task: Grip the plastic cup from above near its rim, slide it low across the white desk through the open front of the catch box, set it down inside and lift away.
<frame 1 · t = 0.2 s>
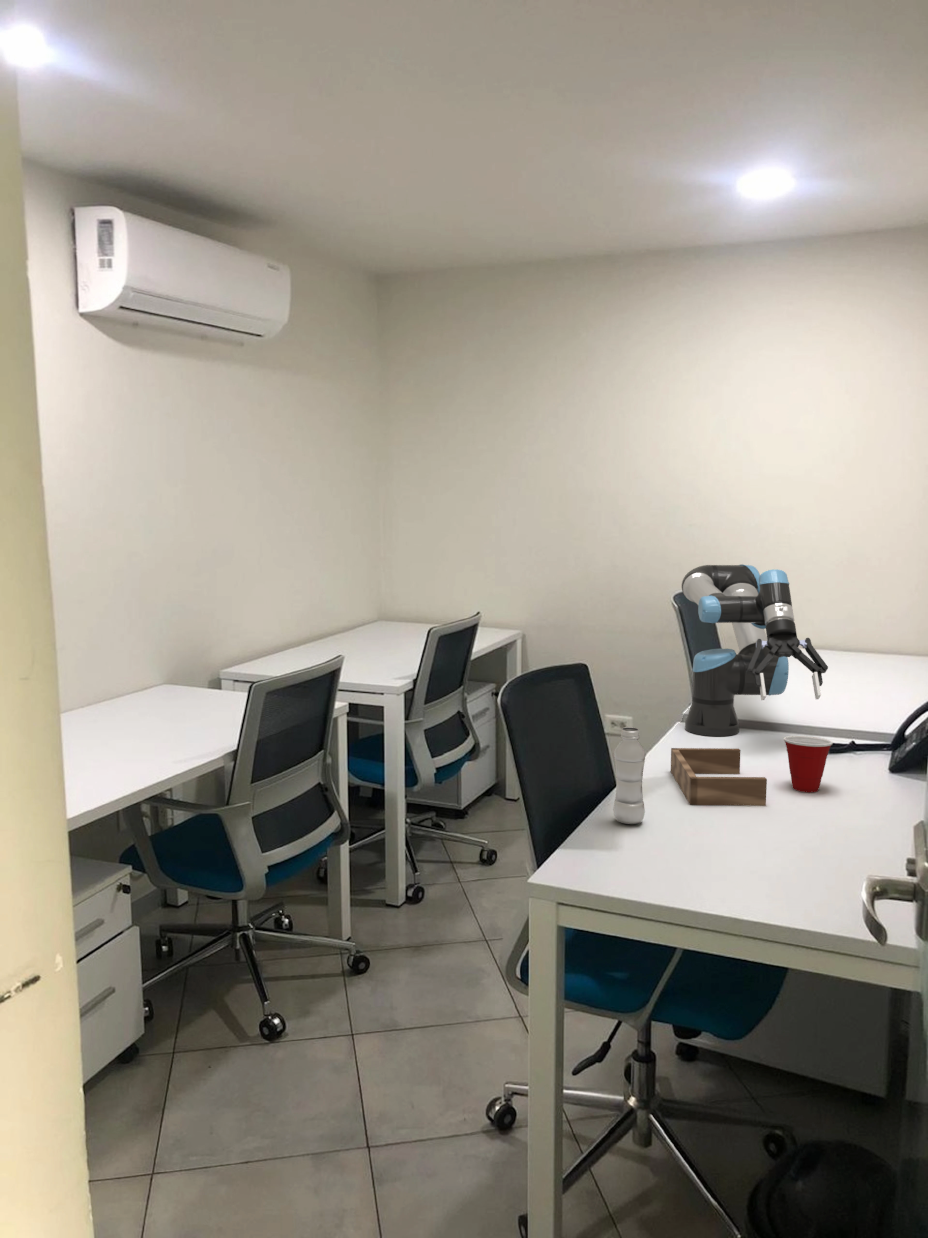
hand: (791, 698, 243), 16 cm above the table, tool tilted 35°, fingers open, 13 cm apart
plastic bottle: (628, 823, 199), on the table
catch box: (718, 787, 222), on the table
plastic cup: (805, 789, 221), on the table
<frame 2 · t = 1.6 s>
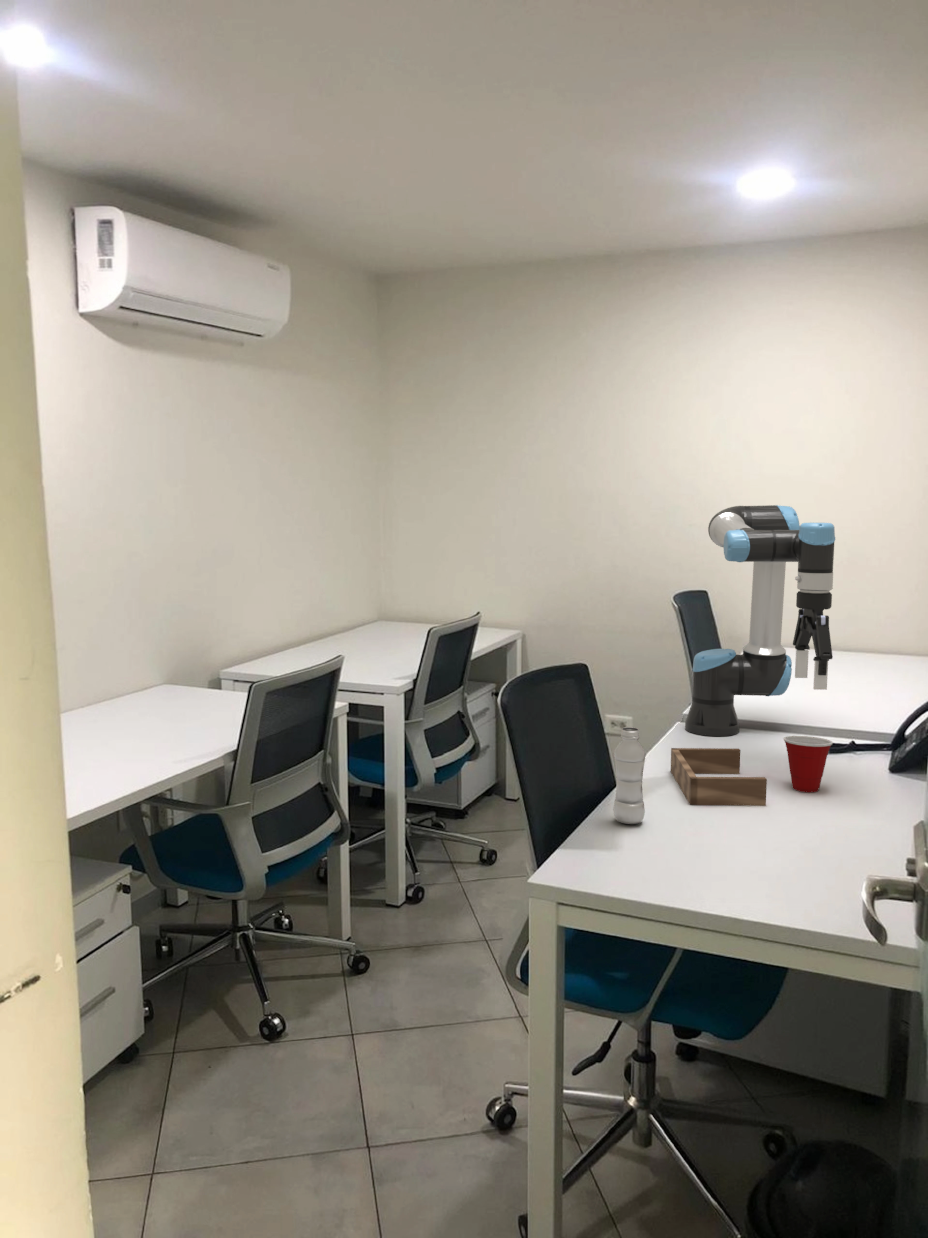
hand: (810, 683, 218), 25 cm above the table, tool pointing down, fingers open, 13 cm apart
nothing on the table moved.
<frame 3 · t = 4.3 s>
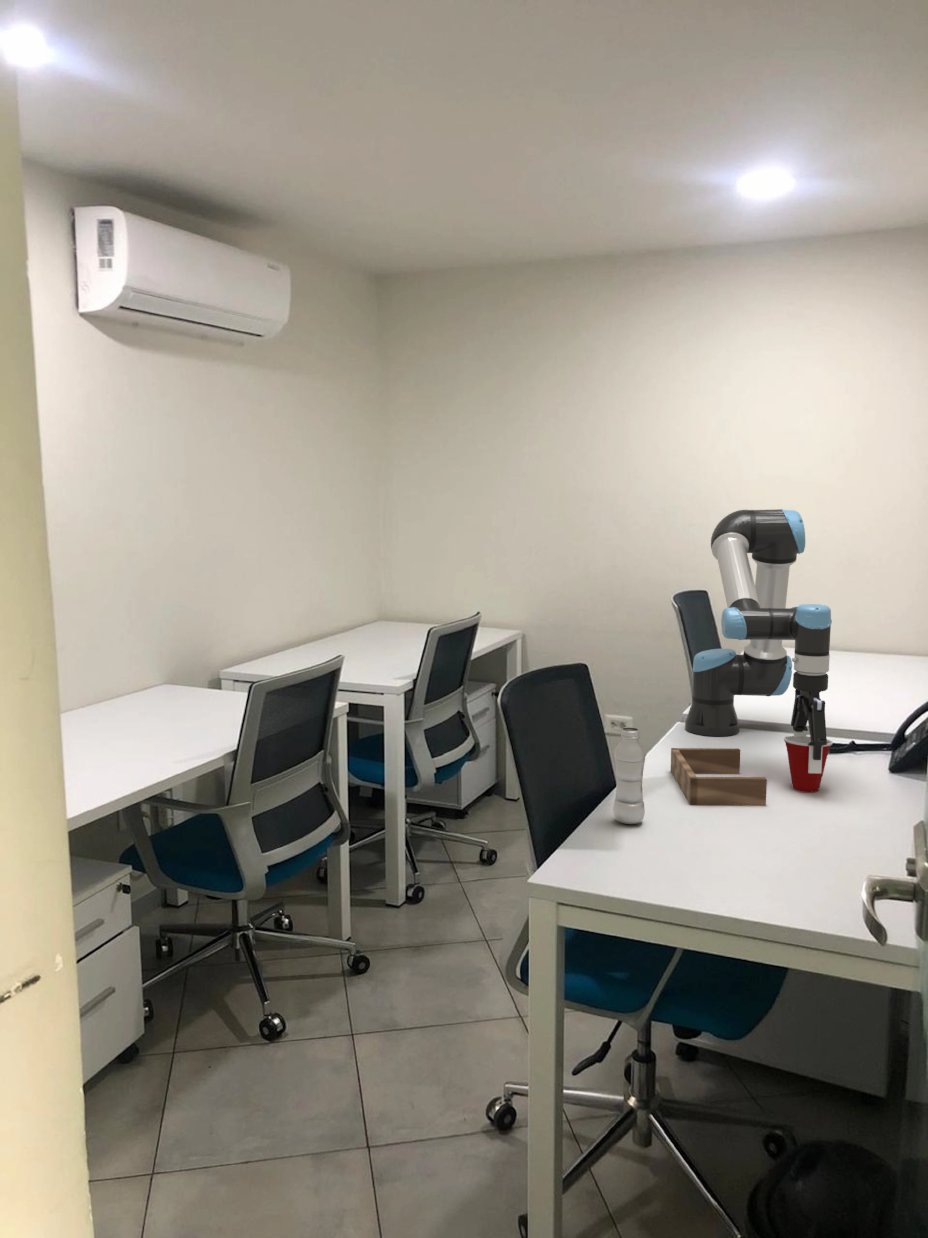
hand: (806, 765, 220), 5 cm above the table, tool pointing down, fingers closed on plastic cup, 11 cm apart
plastic cup: (805, 789, 221), on the table, touching gripper
everything else where it was.
when the fingers open (6 cm above the table, at t = 10.2 s): plastic cup stays where it is, on the table.
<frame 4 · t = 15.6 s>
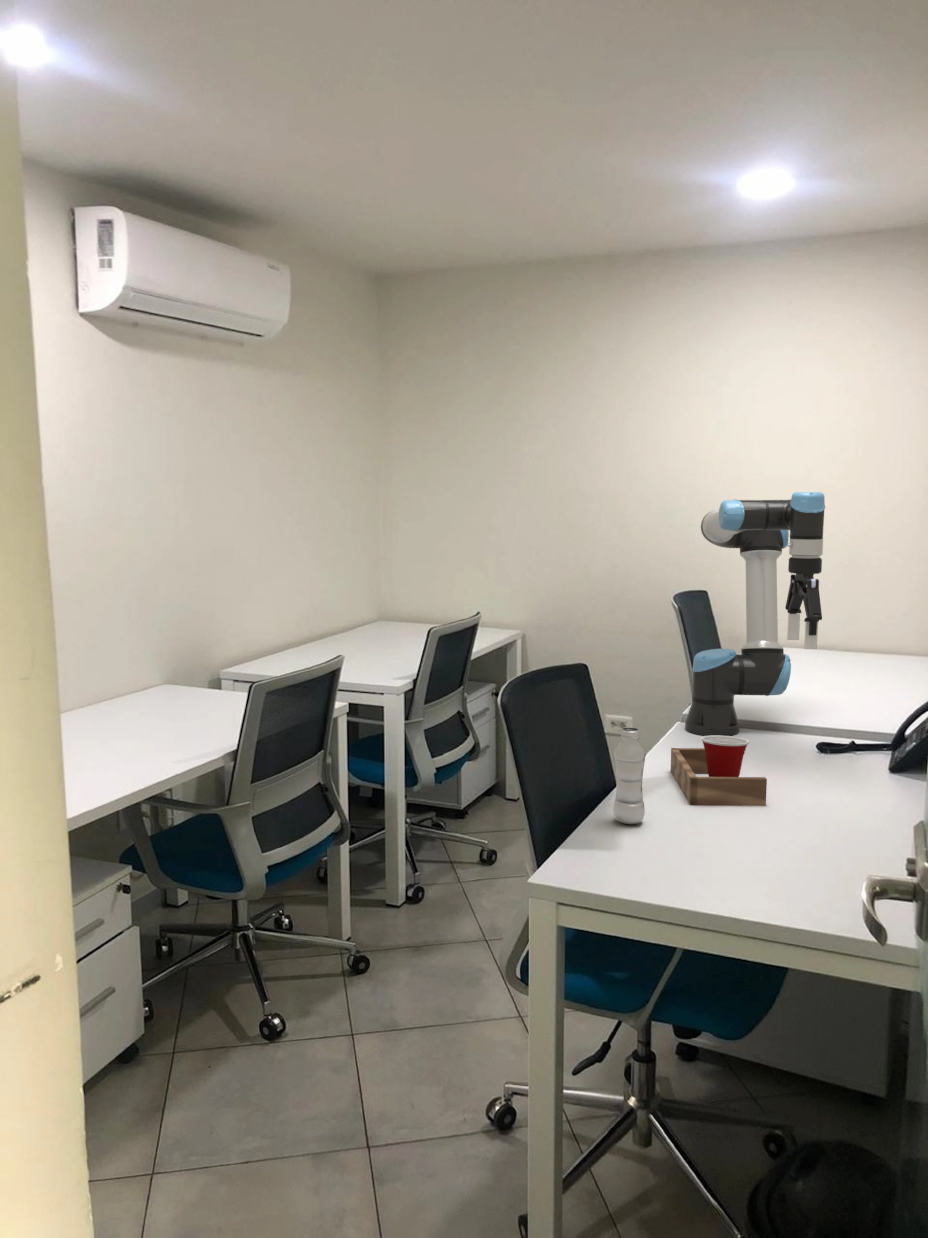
hand: (801, 644, 230), 32 cm above the table, tool pointing down, fingers open, 13 cm apart
plastic cup: (723, 788, 222), on the table
everything else where it was.
at the end: plastic cup inside the target area on the catch box (1.5 cm from its centre), point 0.0 cm above the catch box's base; plastic cup tilted 0°; the gripper is holding nothing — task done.
